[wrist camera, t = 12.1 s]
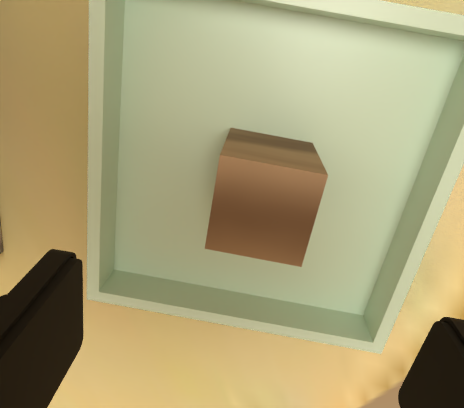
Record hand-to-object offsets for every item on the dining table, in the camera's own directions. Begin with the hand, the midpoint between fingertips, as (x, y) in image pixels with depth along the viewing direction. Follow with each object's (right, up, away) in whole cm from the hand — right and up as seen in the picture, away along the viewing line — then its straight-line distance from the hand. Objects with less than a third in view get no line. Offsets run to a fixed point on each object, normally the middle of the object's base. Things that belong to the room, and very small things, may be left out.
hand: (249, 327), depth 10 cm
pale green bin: (+1, +5, +14) cm, 15 cm away
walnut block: (+1, +5, +14) cm, 15 cm away
